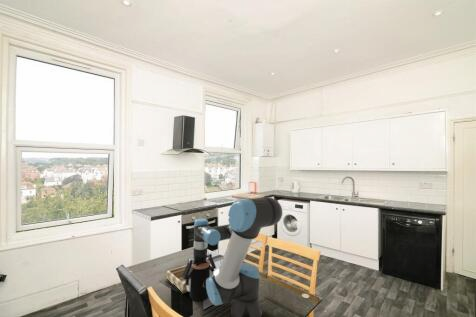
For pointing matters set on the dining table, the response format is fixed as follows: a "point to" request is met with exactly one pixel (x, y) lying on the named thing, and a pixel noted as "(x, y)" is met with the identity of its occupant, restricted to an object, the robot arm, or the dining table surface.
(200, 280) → the coffee jar
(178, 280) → the walled box
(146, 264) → the dining table surface
